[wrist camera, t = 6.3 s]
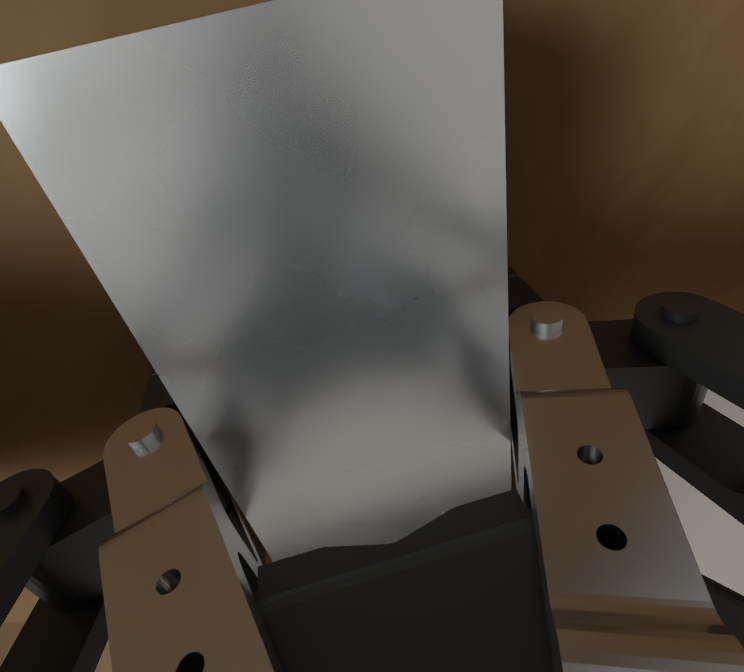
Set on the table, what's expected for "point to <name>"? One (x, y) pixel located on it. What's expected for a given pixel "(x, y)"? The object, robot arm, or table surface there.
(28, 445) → the table surface
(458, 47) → the brushed metal post
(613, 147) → the table surface
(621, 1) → the table surface
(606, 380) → the robot arm
